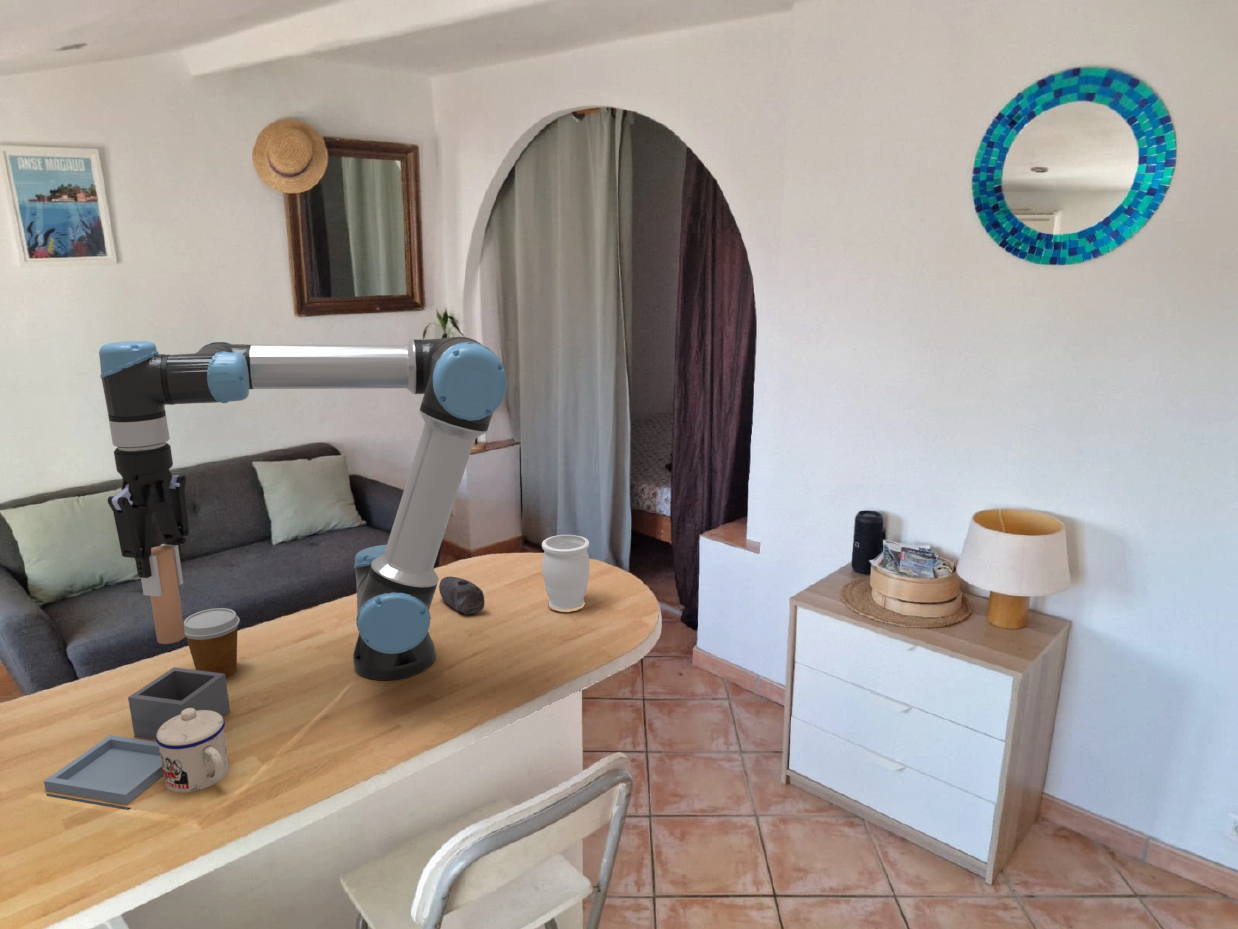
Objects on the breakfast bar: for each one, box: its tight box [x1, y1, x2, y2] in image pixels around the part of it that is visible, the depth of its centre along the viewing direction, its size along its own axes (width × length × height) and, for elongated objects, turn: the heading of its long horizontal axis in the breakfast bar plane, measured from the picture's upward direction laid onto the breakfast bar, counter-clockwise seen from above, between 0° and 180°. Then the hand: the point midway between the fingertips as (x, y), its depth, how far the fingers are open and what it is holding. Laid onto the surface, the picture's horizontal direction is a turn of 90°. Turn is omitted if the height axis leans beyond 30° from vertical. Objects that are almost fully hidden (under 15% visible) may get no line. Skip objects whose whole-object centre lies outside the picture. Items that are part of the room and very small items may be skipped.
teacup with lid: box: [155, 708, 230, 793], centre depth 122 cm, size 12×9×12 cm
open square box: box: [127, 667, 231, 741], centre depth 137 cm, size 10×10×8 cm
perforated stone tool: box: [438, 576, 485, 615], centre depth 183 cm, size 15×5×7 cm, turn 41°
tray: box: [43, 734, 164, 811], centre depth 125 cm, size 14×12×2 cm
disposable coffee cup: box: [183, 607, 241, 679], centre depth 153 cm, size 10×10×12 cm
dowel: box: [149, 545, 186, 645], centre depth 132 cm, size 4×4×15 cm
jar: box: [541, 534, 590, 610], centre depth 183 cm, size 11×10×15 cm
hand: (163, 588), depth 131 cm, fingers closed on dowel, 4 cm apart
